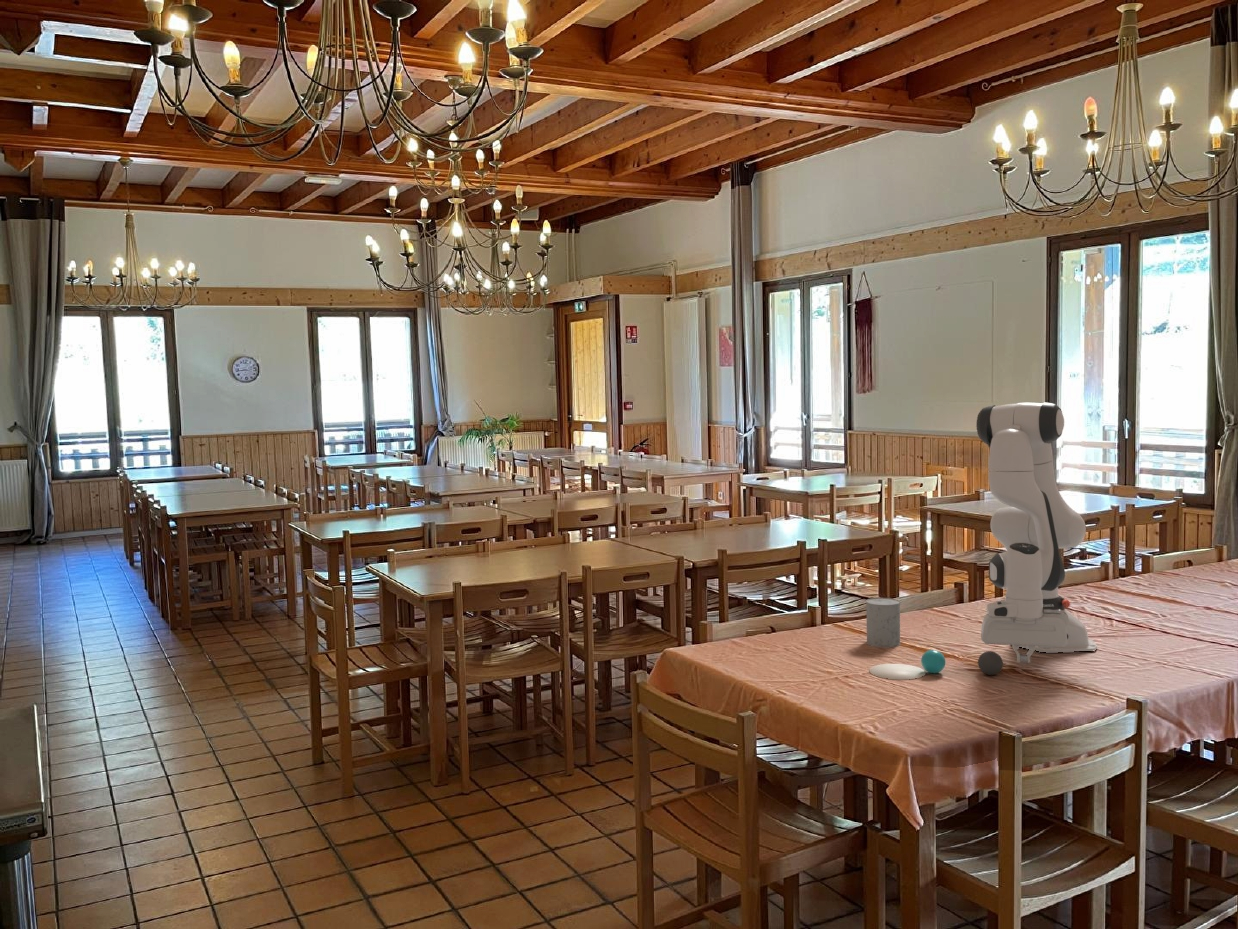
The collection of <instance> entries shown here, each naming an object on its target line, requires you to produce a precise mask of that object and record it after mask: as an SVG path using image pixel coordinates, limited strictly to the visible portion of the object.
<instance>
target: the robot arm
mask: <svg viewBox="0 0 1238 929" xmlns="http://www.w3.org/2000/svg"><path fill="white" fill-rule="evenodd" d="M975 427H976V432H977V436H978V438H979V440H981V441H982V443H984V444H986V445H987V447H988V448H989V452H988V464H987V465H988V467H987V468H988V470H987V471H988V472H987V474H988V477H987V478H988V487H989V490H990V493H991V494H992V496H993V497H994V498H995V499H996V500H998V501H999V502H1001V503H1002V504H1005V505H1007V506H1005V507H999V508H997V509H996V510H995V512H994V513H993V514H992V516H991V519H990V531H991V534H992V535H993V537H994V539H996V540H997V541H998V542H999V543H1000V544H1001V545H1002V546H1003V547H1004V549H1006V551H1002V552H999V553H996V554H994V555H993V556H992V557H991V559H990V560H989V562H988V578H989V581H990V582H991V583H992V584H993V585H994V586H995V587H997V588H998V589H1003V590H1006V592H1005V594H1004V595H1005V598H1004V599H1000V600H997V601H993V602H990V603H987V605H986V613H985V615H984V616H983V619H982V622H981V630H980V632H981V633H980V639H981V641H982V642H983V644H985V645H1004V646H1005V645H1006V646H1012V649H1013V651H1014V653H1015V654H1016V662H1017V663H1019V664H1021V663H1023V664H1030V663H1031V656H1032V655H1033V654H1034V652H1036V651H1039V652H1038V653H1040V652H1046V653H1045V654H1054V653H1058V652H1063V653H1075V652H1074V651H1093V650H1096V649H1097V650H1098V645H1097V643H1096V641H1094V640H1093V639H1091V638H1089V634H1088V630H1087V627H1086V625H1085V624H1084V623H1083V621H1081V620H1080V619H1079V618H1077V617H1076V616H1075V615H1074V614H1072V613H1071V612H1069V611H1068V610H1067V609H1066V608H1069V607H1070V606H1071V602H1070V601H1069V599H1066V598H1064V597H1062V596H1061V595H1059V586H1061V584H1063V582H1064V580H1065V577H1066V570H1065V565H1064V562H1063V558H1062V555H1061V552H1060V549H1069V548H1076V547H1078V546H1079V545H1080V544H1081V543H1082V542H1083V541H1084V538H1085V537H1086V534H1087V529H1086V528H1087V525H1086V523H1085V520H1084V519H1083V517H1082V515H1081V514H1079V513H1078V512H1077V511H1075V510H1074V509H1073V508H1072V507H1071V506H1069V505H1068V503H1067V502H1066V501H1065V499H1064V498H1063V496H1062V494H1061V493H1060V490H1059V489H1058V485H1057V481H1056V476H1055V468H1054V456H1053V454H1054V453H1053V448H1052V443H1053V442H1055V441H1057V440H1058V439H1059V438H1060V437H1061V436H1062V434H1063V430H1064V428H1065V418H1064V414H1063V411H1062V409H1061V407H1060V406H1058V405H1057V404H1056V403H1052V402H1045V401H1044V402H1043V403H1042V402H1041V403H1040V402H1017V403H1008V404H1006V403H1005V404H1002V405H995V404H993V405H989V406H985V407H982V408H981V409H980V411H979V412H978V414H977V417H976V426H975ZM1019 647H1023V648H1026V649H1025V650H1028V649H1029V650H1028V651H1027V652H1026V654H1024V653H1023V654H1022V653H1020V652H1019V651H1018V650H1019V649H1020V648H1019ZM1023 648H1022V649H1023ZM1035 650H1036V651H1035ZM1097 650H1096V651H1097ZM1058 654H1059V653H1058Z"/></svg>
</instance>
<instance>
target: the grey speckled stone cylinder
mask: <svg viewBox="0 0 1238 929" xmlns="http://www.w3.org/2000/svg"><path fill="white" fill-rule="evenodd" d="M865 603H866V608H865V609H866V644H867V645H869V646H870V647H875V648H883V647H886V648H887V649H888V648H895V647H899V646H901V601H900V600H899V599H895V598H889V597H873V598H868V599H866V600H865Z"/></svg>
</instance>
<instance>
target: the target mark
mask: <svg viewBox="0 0 1238 929" xmlns="http://www.w3.org/2000/svg"><path fill="white" fill-rule="evenodd" d="M869 672H870V674H871V675H873V676H874V677H875V676H876V677H878V678H882V679H886V678H888V679H887V680H895V681H896V680H897V681H907V680H909V679H910V680H916V679H915V678H917V679H920V678H923V677H925V675H926V670H925V669H924V668H921V667H919V666H915V665H911V664H904V663H883V664H878V665H876V664H875V665H874V666H871V667H870V668H869ZM922 676H923V677H922Z"/></svg>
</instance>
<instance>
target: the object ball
mask: <svg viewBox="0 0 1238 929" xmlns="http://www.w3.org/2000/svg"><path fill="white" fill-rule="evenodd" d="M920 663H921V667H922V669H923V670H924V671H925V672H928V673H930V674H938V673H940V672H942V671H943V670H944V668H945V667H946V658H945V656H944V654H943V653H942V652H940V651H939V650H937V649H930V650H926V651H925V652H924V653H923V654H922V656H921V658H920Z"/></svg>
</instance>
